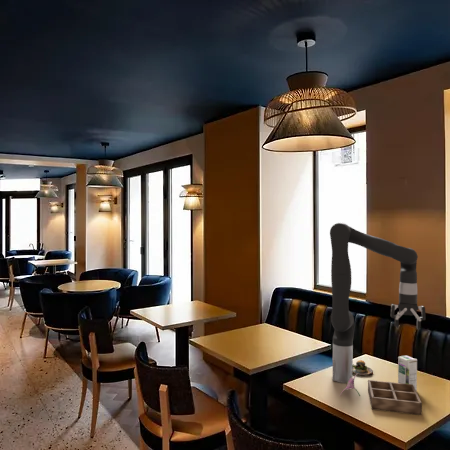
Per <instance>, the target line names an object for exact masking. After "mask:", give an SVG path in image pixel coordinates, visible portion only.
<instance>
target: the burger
mask: <svg viewBox="0 0 450 450" xmlns="http://www.w3.org/2000/svg"><path fill="white" fill-rule="evenodd" d="M357 373H358V374H357ZM353 374H354V375H356V374H357V375H361V376H368V375H371V376H373V375H374V370H373V369H372V368H370V367H368V366H367V365H366V361H364V360H362V359H359V360H357V361H356V364H354V363H353Z"/></svg>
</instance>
